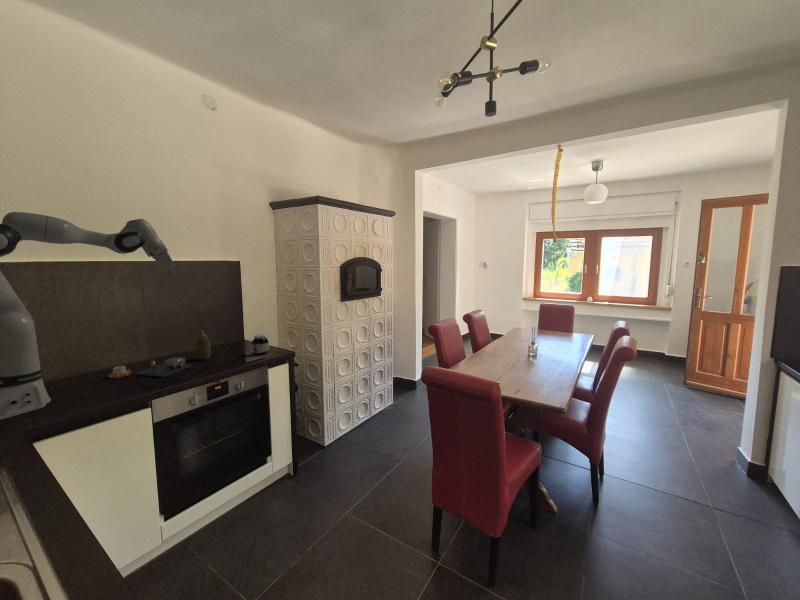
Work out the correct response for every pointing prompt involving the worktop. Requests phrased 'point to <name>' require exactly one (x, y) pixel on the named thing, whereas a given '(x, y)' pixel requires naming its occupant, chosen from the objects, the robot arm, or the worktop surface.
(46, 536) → the worktop surface
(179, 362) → the carrier
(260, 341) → the spread jar
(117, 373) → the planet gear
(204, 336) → the squeeze bottle
